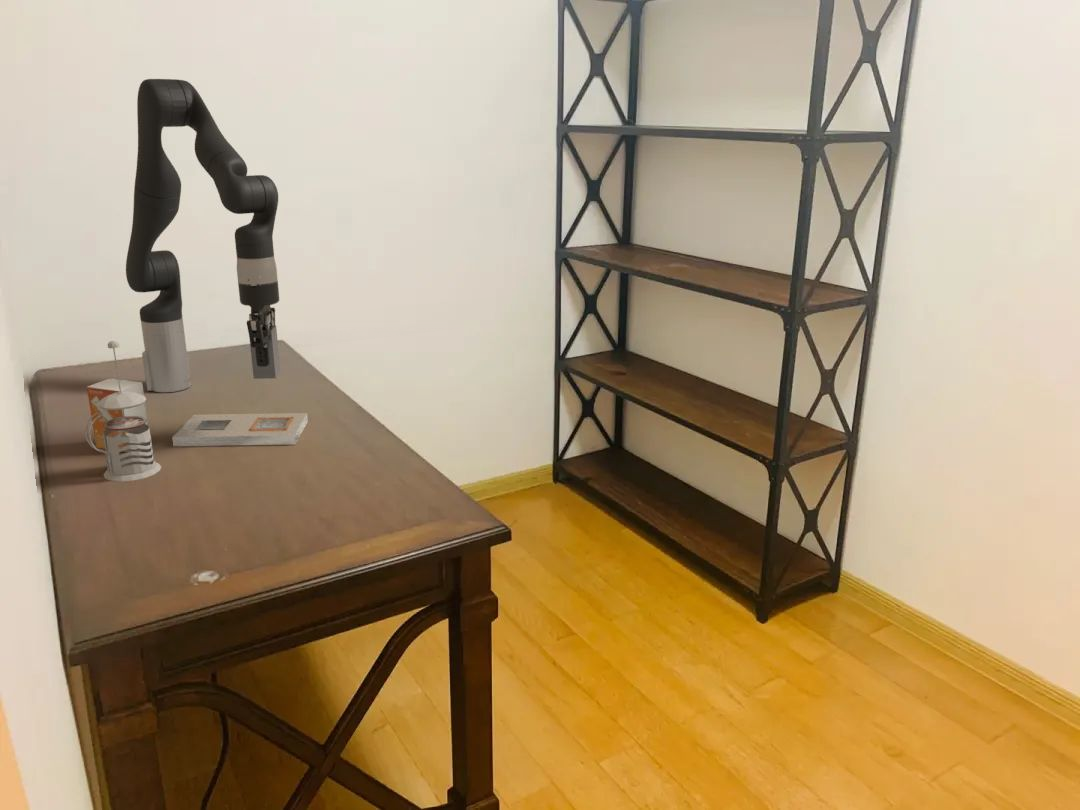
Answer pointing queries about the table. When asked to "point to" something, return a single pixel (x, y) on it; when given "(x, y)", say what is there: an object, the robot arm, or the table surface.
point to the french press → (125, 437)
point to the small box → (103, 390)
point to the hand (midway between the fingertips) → (265, 362)
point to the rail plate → (241, 429)
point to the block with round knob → (273, 357)
